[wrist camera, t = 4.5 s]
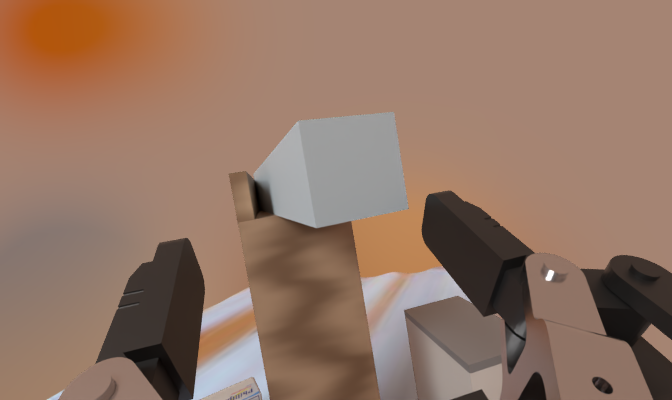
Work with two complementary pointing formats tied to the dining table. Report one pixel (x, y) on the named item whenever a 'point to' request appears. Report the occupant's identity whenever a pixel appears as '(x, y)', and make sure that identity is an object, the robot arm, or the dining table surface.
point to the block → (454, 350)
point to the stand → (305, 303)
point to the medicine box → (238, 392)
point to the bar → (334, 171)
